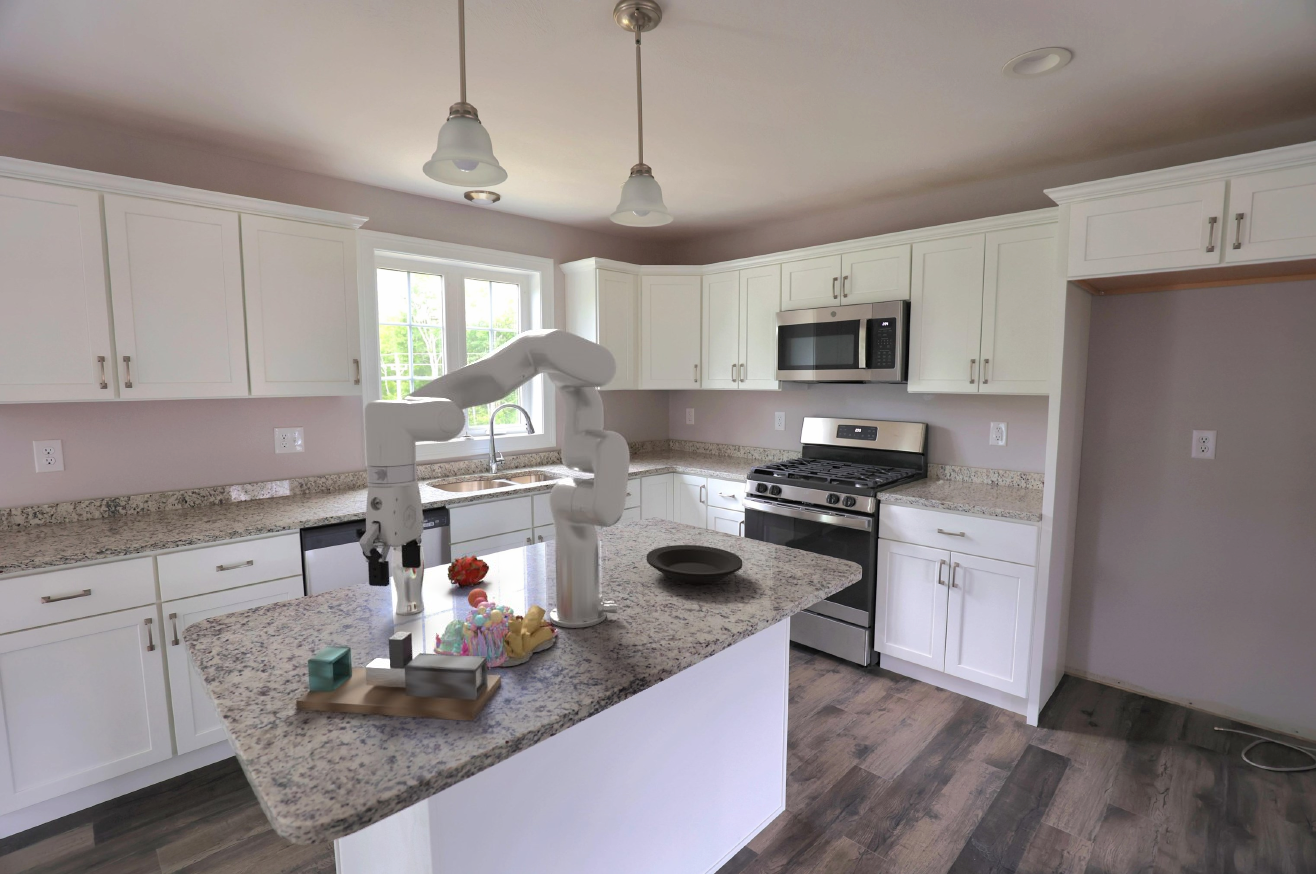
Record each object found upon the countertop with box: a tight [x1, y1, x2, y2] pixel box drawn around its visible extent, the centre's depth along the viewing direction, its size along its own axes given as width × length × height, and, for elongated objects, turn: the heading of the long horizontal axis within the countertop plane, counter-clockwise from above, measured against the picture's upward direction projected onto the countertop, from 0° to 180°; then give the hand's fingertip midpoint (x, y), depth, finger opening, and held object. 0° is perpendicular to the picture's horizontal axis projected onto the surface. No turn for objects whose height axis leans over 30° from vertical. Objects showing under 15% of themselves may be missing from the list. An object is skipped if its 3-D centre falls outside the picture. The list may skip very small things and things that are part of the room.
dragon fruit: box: [447, 555, 490, 588], centre depth 162 cm, size 8×8×12 cm
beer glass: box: [391, 544, 425, 616], centre depth 143 cm, size 7×7×15 cm
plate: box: [646, 544, 744, 586], centre depth 166 cm, size 28×24×6 cm
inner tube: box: [364, 631, 482, 688], centre depth 104 cm, size 19×3×8 cm, turn 83°
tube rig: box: [295, 645, 502, 722], centre depth 105 cm, size 30×12×7 cm, turn 83°
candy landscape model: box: [433, 588, 559, 671], centre depth 126 cm, size 25×24×9 cm
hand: (396, 576), depth 104 cm, fingers open, 9 cm apart
